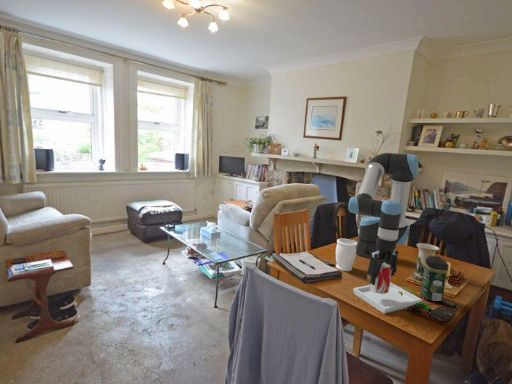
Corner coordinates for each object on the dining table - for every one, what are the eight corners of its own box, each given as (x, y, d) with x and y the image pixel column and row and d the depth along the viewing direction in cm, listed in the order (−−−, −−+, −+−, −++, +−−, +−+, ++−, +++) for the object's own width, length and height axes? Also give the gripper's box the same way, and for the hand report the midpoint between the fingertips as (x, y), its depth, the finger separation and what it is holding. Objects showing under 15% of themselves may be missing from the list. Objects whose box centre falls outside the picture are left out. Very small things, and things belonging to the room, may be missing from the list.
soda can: (387, 297, 116) (391, 269, 114) (368, 291, 120) (372, 264, 118) (389, 290, 122) (393, 264, 120) (372, 285, 126) (375, 259, 124)
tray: (387, 285, 136) (388, 281, 136) (421, 304, 121) (422, 299, 121) (352, 292, 127) (353, 288, 126) (384, 314, 112) (385, 308, 111)
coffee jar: (418, 290, 133) (424, 252, 130) (437, 294, 131) (444, 255, 128) (423, 300, 124) (430, 260, 121) (444, 304, 122) (452, 263, 119)
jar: (355, 273, 147) (358, 245, 145) (334, 270, 149) (337, 243, 147) (352, 265, 157) (355, 239, 155) (333, 262, 159) (336, 237, 157)
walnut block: (373, 278, 143) (375, 267, 142) (381, 283, 139) (383, 271, 138) (366, 279, 141) (368, 268, 140) (374, 284, 137) (376, 272, 136)
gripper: (396, 233, 125) (388, 282, 129) (362, 236, 116) (355, 289, 120) (411, 239, 118) (403, 290, 122) (376, 242, 110) (369, 298, 113)
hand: (379, 289), depth 121 cm, fingers closed on soda can, 7 cm apart
